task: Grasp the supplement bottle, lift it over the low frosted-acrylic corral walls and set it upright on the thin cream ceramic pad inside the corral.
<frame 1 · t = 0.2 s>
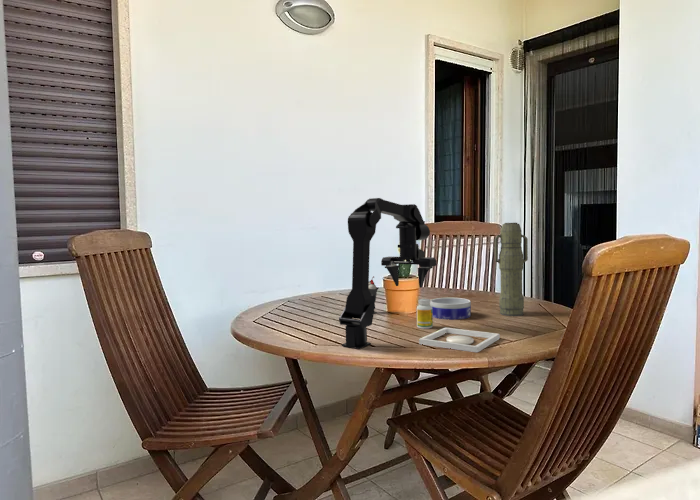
hand: (408, 286, 162), 14 cm above the table, fingers open, 9 cm apart
dog bowl: (450, 316, 182), on the table
thermos: (511, 314, 182), on the table
sundae: (371, 313, 192), on the table
supplement bottle: (424, 327, 163), on the table
corral: (459, 341, 142), on the table
plinth: (459, 341, 142), resting in corral
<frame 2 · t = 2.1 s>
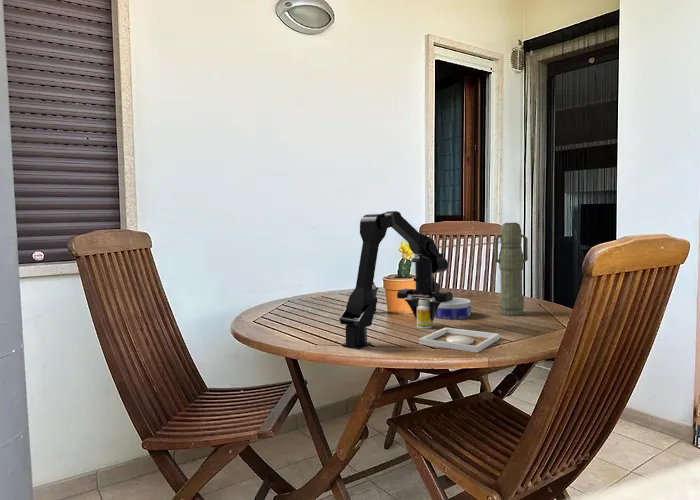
hand: (424, 320, 163), 3 cm above the table, fingers closed on supplement bottle, 5 cm apart
supplement bottle: (424, 327, 163), on the table, touching gripper
everything else where it was.
when the fingers open (4 cm above the table, at t = 7.3 s): supplement bottle stays where it is, resting on plinth.
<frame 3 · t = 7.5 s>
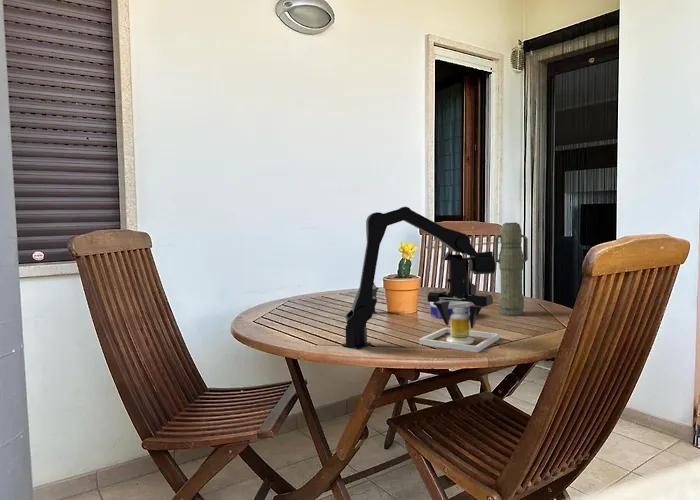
hand: (459, 326, 142), 4 cm above the table, fingers open, 8 cm apart
supplement bottle: (459, 339, 142), point 1 cm above the table, touching plinth
everything else where it was.
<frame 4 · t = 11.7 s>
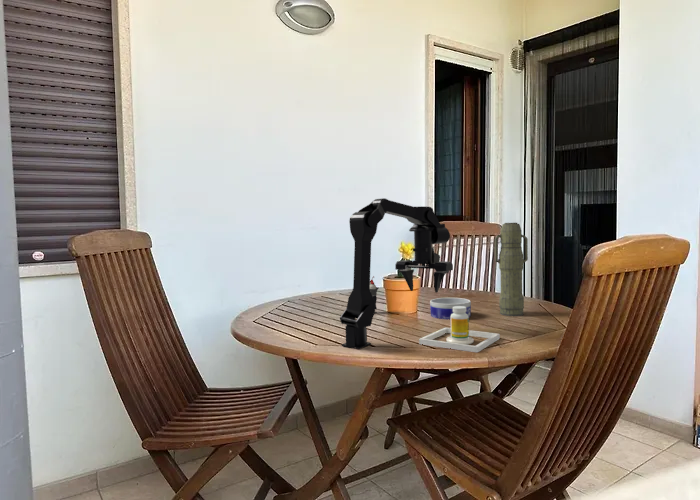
hand: (423, 291, 158), 13 cm above the table, fingers open, 9 cm apart
nothing on the table moved.
at the end: supplement bottle 0.0 cm off-centre on the plinth, point 0.6 cm above the plinth's base; supplement bottle tilted 0°; the gripper is holding nothing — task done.
